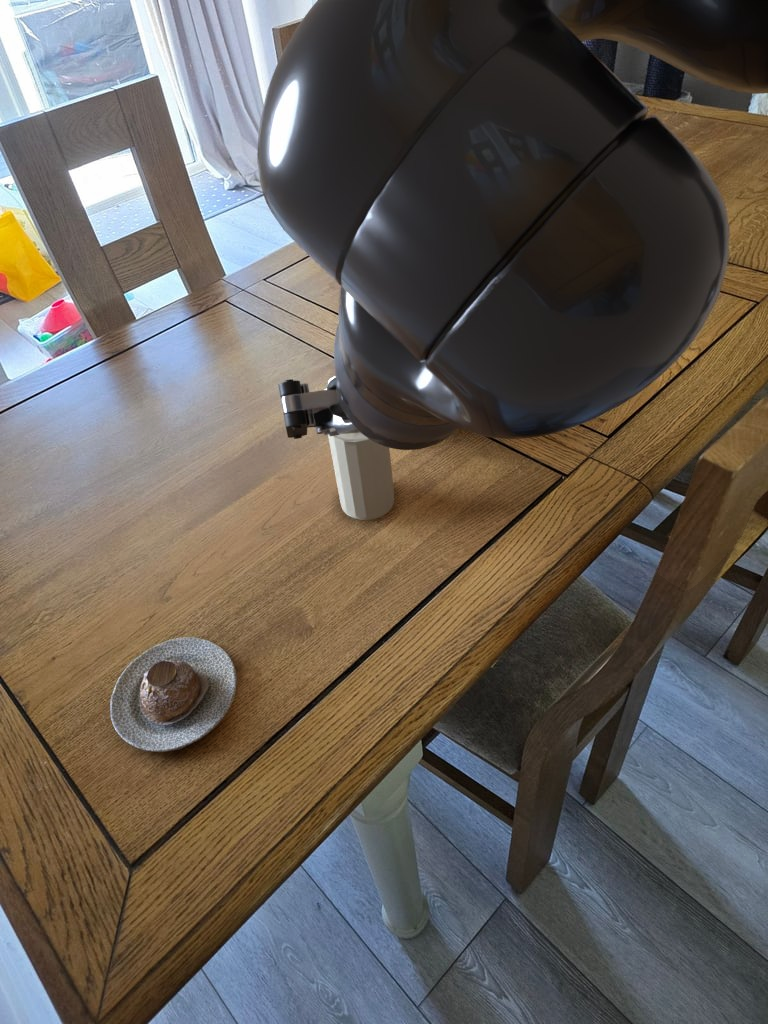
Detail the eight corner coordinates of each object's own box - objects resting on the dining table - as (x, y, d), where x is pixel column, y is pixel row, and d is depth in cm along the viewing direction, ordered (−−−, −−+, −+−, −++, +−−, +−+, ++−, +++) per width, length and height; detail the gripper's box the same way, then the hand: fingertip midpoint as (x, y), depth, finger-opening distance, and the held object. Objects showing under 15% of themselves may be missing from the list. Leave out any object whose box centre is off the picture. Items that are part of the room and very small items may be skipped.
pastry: (91, 699, 67) (72, 674, 64) (194, 623, 73) (181, 596, 69) (156, 783, 61) (138, 760, 58) (264, 692, 66) (253, 667, 63)
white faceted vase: (398, 484, 85) (387, 374, 73) (388, 522, 80) (376, 412, 69) (347, 480, 86) (329, 372, 74) (335, 518, 82) (314, 409, 70)
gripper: (550, 258, 33) (482, 341, 49) (248, 306, 32) (281, 374, 48) (577, 416, 33) (500, 446, 49) (277, 467, 32) (300, 481, 48)
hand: (392, 410), depth 48 cm, fingers open, 8 cm apart
